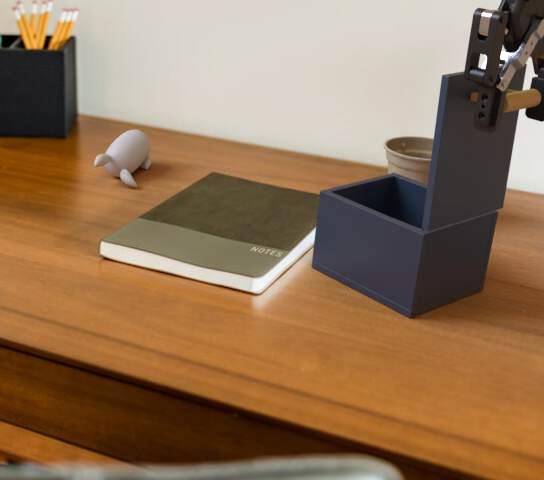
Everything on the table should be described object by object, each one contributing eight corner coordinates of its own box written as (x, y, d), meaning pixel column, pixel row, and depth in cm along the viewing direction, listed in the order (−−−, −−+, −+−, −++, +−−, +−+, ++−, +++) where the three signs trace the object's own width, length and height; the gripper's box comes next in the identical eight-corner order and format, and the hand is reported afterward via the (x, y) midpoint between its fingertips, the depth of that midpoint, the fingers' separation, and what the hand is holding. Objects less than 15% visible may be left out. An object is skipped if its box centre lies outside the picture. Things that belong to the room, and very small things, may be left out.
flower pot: (406, 231, 107) (416, 162, 104) (359, 204, 115) (368, 139, 112) (467, 221, 111) (479, 155, 108) (418, 196, 119) (428, 133, 115)
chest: (311, 267, 97) (319, 190, 93) (383, 244, 103) (394, 172, 100) (410, 318, 87) (424, 234, 83) (483, 290, 93) (498, 211, 90)
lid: (441, 74, 78) (488, 84, 75) (519, 62, 85) (566, 71, 81) (421, 229, 84) (464, 245, 80) (496, 206, 90) (539, 220, 87)
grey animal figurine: (115, 133, 126) (77, 171, 117) (140, 115, 123) (103, 153, 114) (143, 167, 128) (107, 208, 118) (168, 151, 125) (134, 191, 115)
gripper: (541, -65, 67) (500, 148, 73) (639, -67, 75) (594, 124, 82) (458, -74, 72) (426, 125, 79) (558, -75, 80) (522, 105, 87)
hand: (512, 124), depth 80 cm, fingers open, 7 cm apart
